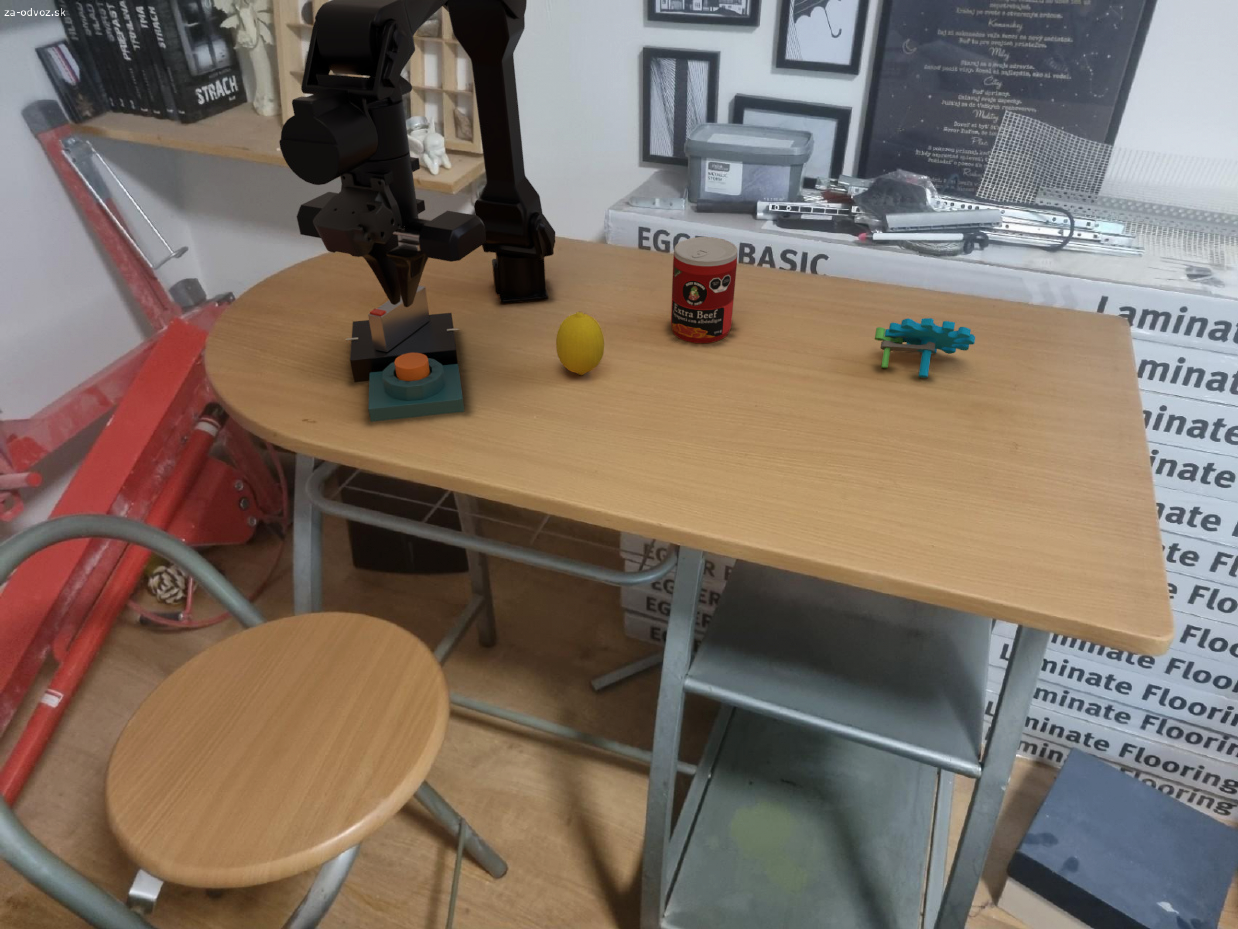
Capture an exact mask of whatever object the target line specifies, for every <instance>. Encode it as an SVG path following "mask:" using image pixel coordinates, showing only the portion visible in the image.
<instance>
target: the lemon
mask: <svg viewBox="0 0 1238 929" xmlns="http://www.w3.org/2000/svg"><path fill="white" fill-rule="evenodd" d="M604 337H605V336H604V333H603V330H602V327H601V325H600V323H599V322H598V321H597V320H596V318H594V317H593V316H591V315H589V314H587V313H584V312H582V311H577V312H576V313H573V314H570V315H568V316H567V317H566V318H564V320H562V322H561V323H560V324H559V327H558V329H557V333H556V337H555V338H556V339H555V346H556V347H555V348H556V353H557V357H558V359H559V361H560V363H561V365H562V366H563V367H564V368H565V369H567V370H568V371H570V372H571V373H576V374H577V375H579V376H583V375H584V374H586V373H589V372H591V371H593V370H594V369H596V367H598V366H599V364H600V362H601V361H602V359H603V356H604V354H605V353H604V352H605V338H604Z"/></svg>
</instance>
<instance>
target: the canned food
mask: <svg viewBox="0 0 1238 929" xmlns="http://www.w3.org/2000/svg"><path fill="white" fill-rule="evenodd" d="M673 249H674V250H673V260H672V280H671V281H672V282H671V309H670V310H671V311H670V327H671V331H672V333H673V335H674V336H676V337H677V338H678V339H680V340H682V341H684V342H688V343H691V344H692V343H693V344H711V343H716V342H718V341H722V339H724V338H726V337H727V336H728V335H729V333H730V330H731V328H732V322H733V320H732V319H733V311H734V300H735V289H736V278H737V267H738V255H739V254H738V247H737V245H735V244H734V243H733V242H731V241H728V240H726V239H723V238H718V237H710V236H698V237H691V238H687V239H684V240H682V241H679V242H678V243H677V244H675V246H674V248H673Z"/></svg>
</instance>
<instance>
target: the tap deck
mask: <svg viewBox="0 0 1238 929" xmlns="http://www.w3.org/2000/svg"><path fill="white" fill-rule="evenodd" d="M429 317H430V321H428V322H427V323H426V324H424V325H423V326H422V327H420V328H419V329H418V330H416V331H415V332H414V333H412V334H411V335H410V336H408V337H407V338H406V339H404V340H403V341H402V342H400V343H399V344H398V345H396V346H395V347H394V348H392V349H391V350H390V351H388V352H383V351H378V350H374V345H373V339H372V334H371V328H370V323H369V319H365V320H355V321H352V328H351V337H348V338H345V341H346V342H350V353H349V362H350V367H351V373H352V378H353V382H354V383H361V382H369V378H370V373H371V372H381V371H383V370H384V369H385V368H386V367H387V366H388V365H390V364H391V363H393V362H395V359H396V358H397V357H399V356H401V355H403V354H407V353H421V354H424V355H426V356H427V358H430V359H434V360H436V361H437V362H439V363H440V364H442V365H452V364H458V365H459V360H458V352H457V344H456V337H455V332H457V331H460V329H459V327H456V328H454V321H453V314H452V312H445V313H433V314H429Z"/></svg>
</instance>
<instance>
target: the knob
mask: <svg viewBox="0 0 1238 929" xmlns="http://www.w3.org/2000/svg"><path fill="white" fill-rule="evenodd" d="M426 289H427V288H426V286H424V285H420V284H419V286H418V289H417V292H416V295H415V298H414V301H413V304H412V305H411V306H409V307H404V304H403V301H402V298H400V302H399V303H397V304H396V305H393V304H391V302H390V300H389V299H388V300H387V301H386V302H384V303H383V304H381V305H380V306H378V307H377V308H374V309H372V310H370V311H369V313H368V314H367V316H368V320H369V323H370V328H371V334H372V339H373V345H374V350H378V351H383V352H388V351H390V350H391V349H392V348H394V347H395V346H396V345H398V344H399V343H400V342H402V341H403V340H404V339H406V338H407V337H408V336H410V335H411V334H412V333H414V332H415V331H416V330H418V329H419V328H420V327H422V326H423V325H424V324H426V323H427V322H428V321H430V317H429V315H430V310H429V304H428V295H427V290H426Z"/></svg>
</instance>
